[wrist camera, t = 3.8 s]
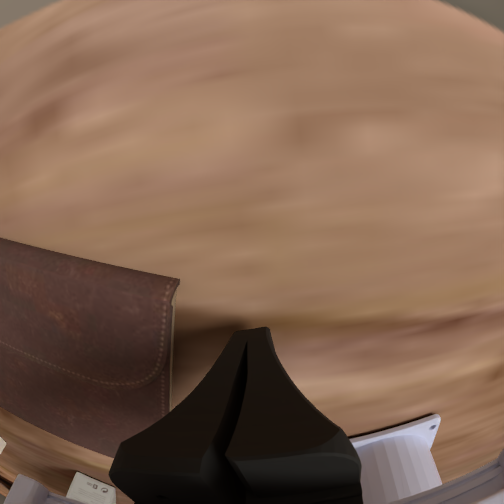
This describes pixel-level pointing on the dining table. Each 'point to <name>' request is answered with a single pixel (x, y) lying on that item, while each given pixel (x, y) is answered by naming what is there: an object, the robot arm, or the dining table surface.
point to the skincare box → (90, 490)
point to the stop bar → (2, 444)
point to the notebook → (84, 345)
